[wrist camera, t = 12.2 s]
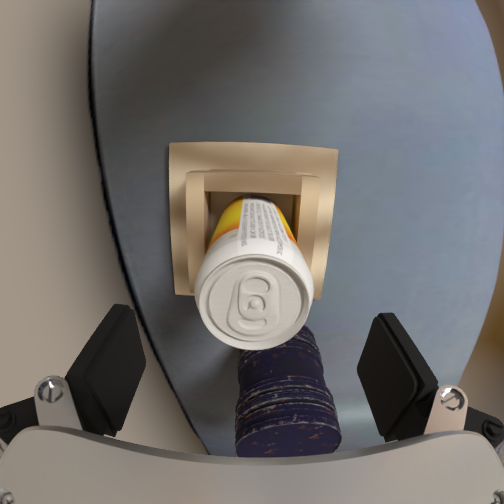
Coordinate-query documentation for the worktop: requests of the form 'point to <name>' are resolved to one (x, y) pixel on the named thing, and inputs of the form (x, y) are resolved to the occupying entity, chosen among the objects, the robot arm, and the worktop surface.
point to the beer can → (253, 277)
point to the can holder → (242, 183)
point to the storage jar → (285, 402)
